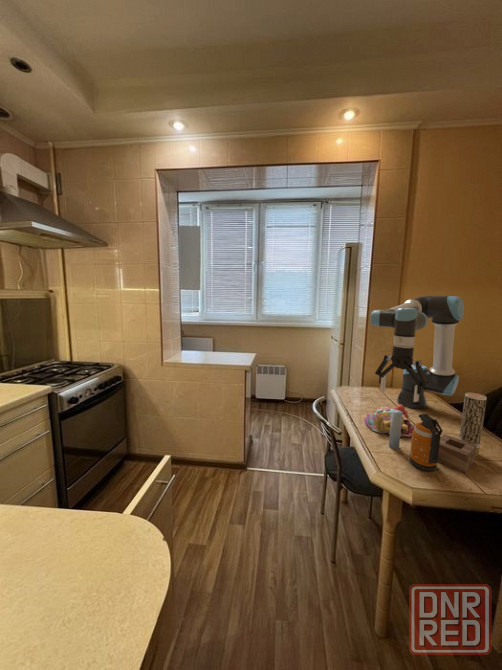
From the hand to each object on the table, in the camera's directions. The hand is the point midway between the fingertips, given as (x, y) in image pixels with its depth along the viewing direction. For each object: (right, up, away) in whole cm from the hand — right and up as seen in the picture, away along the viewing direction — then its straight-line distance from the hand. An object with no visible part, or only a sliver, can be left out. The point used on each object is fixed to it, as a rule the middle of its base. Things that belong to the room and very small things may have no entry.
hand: (398, 396), depth 117 cm
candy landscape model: (+8, -20, +24) cm, 32 cm away
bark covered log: (+29, -24, 0) cm, 37 cm away
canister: (+5, -25, -10) cm, 27 cm away
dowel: (0, -23, +4) cm, 23 cm away
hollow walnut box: (+19, -24, -6) cm, 31 cm away
